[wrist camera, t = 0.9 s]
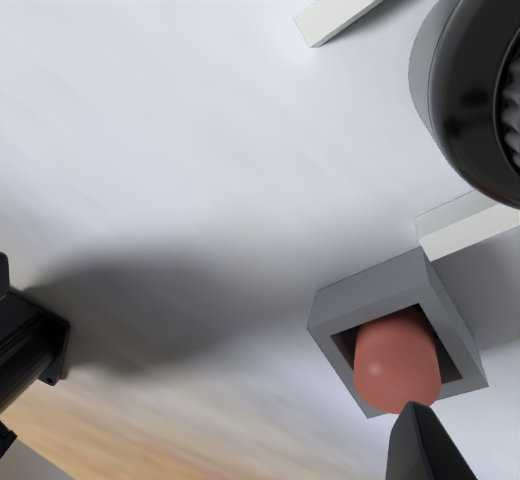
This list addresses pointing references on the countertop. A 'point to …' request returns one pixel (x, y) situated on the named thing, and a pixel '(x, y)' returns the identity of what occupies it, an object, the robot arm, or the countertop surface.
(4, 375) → the robot arm
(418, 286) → the plunger block
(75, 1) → the countertop surface
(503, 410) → the countertop surface
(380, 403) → the plunger
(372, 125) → the countertop surface
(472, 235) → the white u-shaped frame
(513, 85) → the supplement bottle
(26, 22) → the countertop surface
